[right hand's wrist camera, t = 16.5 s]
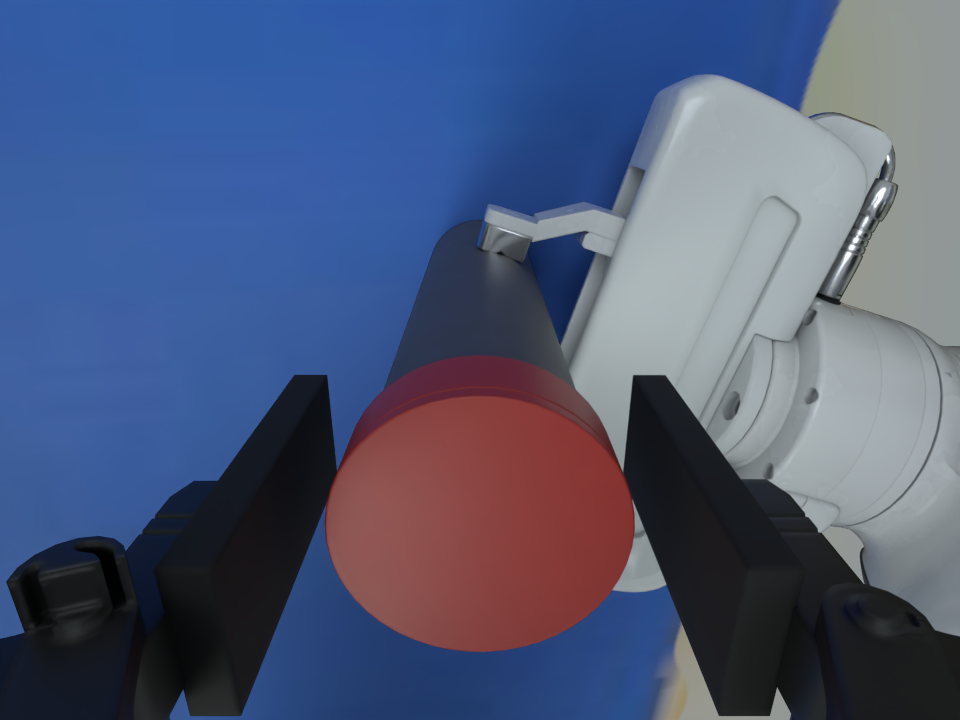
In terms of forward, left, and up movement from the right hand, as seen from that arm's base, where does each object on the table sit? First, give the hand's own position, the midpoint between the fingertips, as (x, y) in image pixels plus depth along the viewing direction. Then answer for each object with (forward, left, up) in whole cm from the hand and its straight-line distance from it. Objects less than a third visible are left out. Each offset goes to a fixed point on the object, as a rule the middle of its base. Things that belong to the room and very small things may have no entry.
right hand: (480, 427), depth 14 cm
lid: (0, 0, +4) cm, 4 cm away
